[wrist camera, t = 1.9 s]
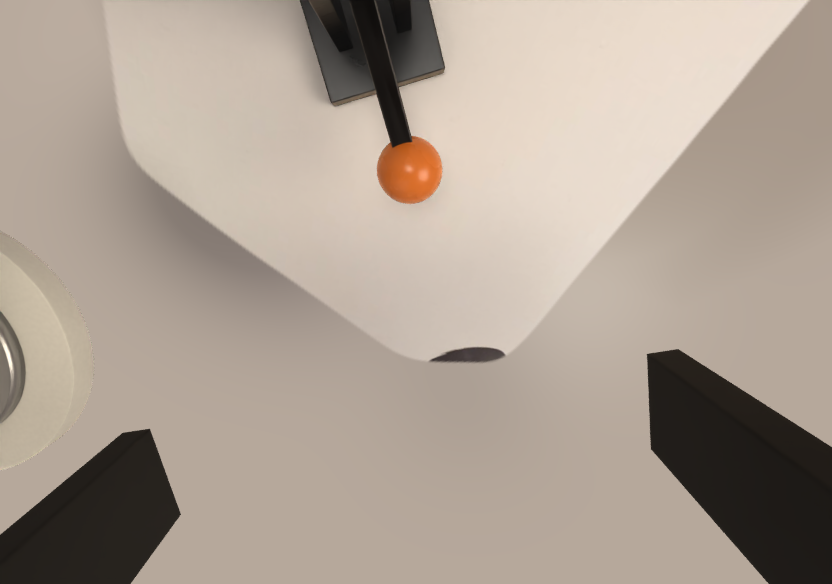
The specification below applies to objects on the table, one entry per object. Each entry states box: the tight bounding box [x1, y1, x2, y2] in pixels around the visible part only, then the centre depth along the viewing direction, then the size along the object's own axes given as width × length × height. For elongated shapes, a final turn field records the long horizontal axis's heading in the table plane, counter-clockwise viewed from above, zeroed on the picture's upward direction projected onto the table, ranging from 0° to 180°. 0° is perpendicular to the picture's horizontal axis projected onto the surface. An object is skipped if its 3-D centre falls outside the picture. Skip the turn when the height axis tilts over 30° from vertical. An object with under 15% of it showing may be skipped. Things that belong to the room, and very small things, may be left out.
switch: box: [349, 0, 442, 204], centre depth 20 cm, size 15×4×4 cm, turn 16°
